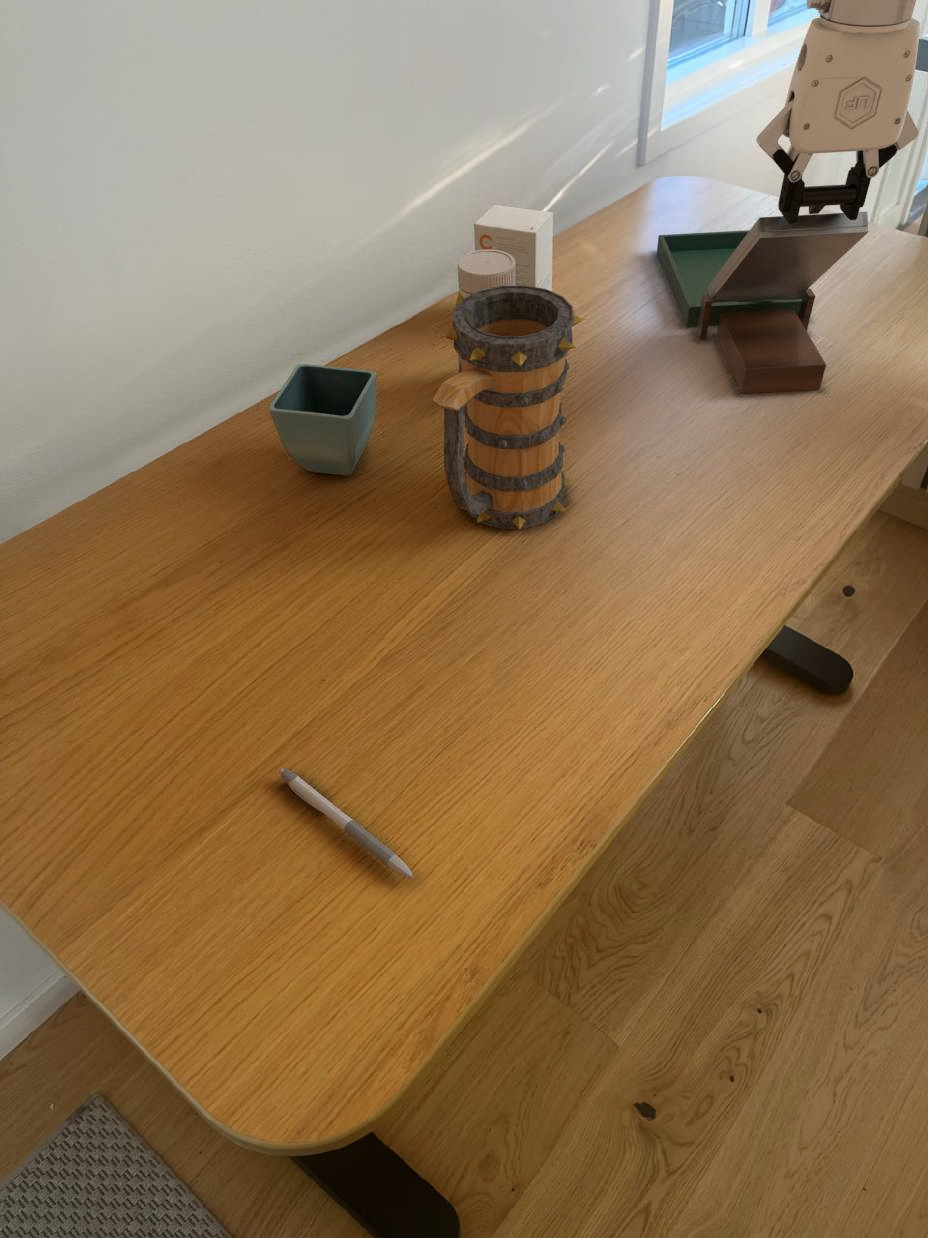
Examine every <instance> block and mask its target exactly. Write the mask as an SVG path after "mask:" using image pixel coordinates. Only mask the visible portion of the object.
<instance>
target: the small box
mask: <svg viewBox="0 0 928 1238" xmlns="http://www.w3.org/2000/svg"><path fill="white" fill-rule="evenodd" d="M473 231H474V233H473V234H474V251H477V250H486V249H491V250H500V251H504V252H506V253H509V254H510V255H512V256H513V258H514V259H515V285H526V286H531V287H537V288H543V289H547V290H549V291H552V288H553V286H552V285H553V242H554V241H553V238H554V237H553V234H554V233H553V232H554V212H552V211H544V210H538V209H537V210H536V209H530V208H521V207H513V206H505V205H499V204H492V205H491V206H490V208H489V209H488V210H486V212H484V214H483V215H481V217H479V218H478V220H476V221H475V222H474V223H473Z"/></svg>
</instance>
